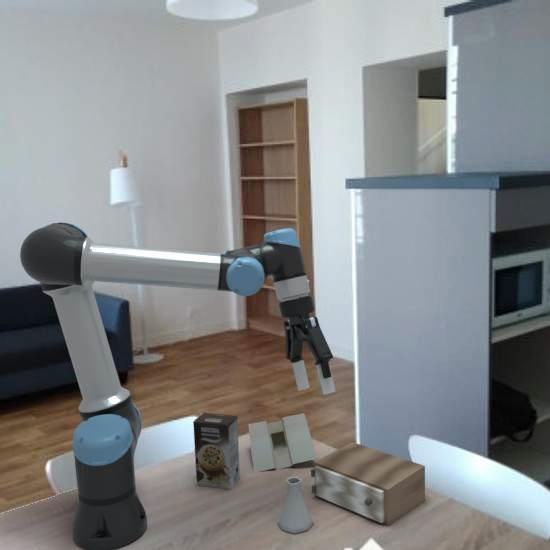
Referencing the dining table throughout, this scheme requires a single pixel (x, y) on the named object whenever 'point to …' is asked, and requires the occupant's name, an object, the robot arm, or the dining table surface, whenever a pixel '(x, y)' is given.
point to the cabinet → (369, 482)
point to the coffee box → (216, 450)
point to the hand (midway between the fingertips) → (316, 391)
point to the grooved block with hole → (280, 443)
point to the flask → (294, 509)
